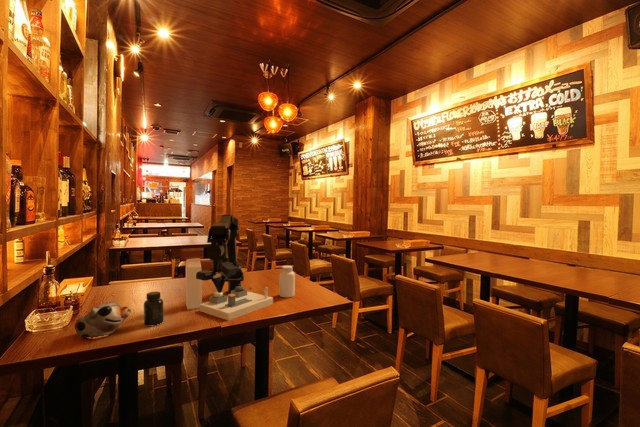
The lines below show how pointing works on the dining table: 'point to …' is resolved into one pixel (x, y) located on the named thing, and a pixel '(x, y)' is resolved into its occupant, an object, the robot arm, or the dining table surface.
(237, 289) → the grey dome
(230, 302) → the slider
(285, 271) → the pill bottle
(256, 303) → the console
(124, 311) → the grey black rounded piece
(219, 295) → the pale yellow button
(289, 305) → the dining table surface
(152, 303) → the supplement bottle
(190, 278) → the milk
